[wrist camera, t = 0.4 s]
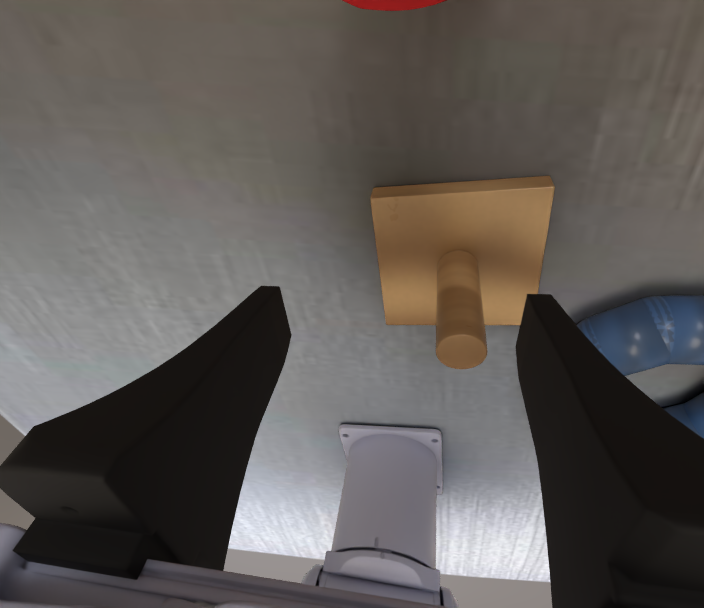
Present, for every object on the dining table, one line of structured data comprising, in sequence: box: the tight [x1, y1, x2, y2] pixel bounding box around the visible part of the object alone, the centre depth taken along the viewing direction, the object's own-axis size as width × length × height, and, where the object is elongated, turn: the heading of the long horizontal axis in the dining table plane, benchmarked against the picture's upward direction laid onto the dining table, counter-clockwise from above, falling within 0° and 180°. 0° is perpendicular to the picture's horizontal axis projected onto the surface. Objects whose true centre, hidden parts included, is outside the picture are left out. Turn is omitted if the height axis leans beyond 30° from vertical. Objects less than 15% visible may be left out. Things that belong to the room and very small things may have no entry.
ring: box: [577, 295, 704, 438], centre depth 24 cm, size 13×13×3 cm
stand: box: [370, 176, 555, 369], centre depth 20 cm, size 8×8×7 cm
